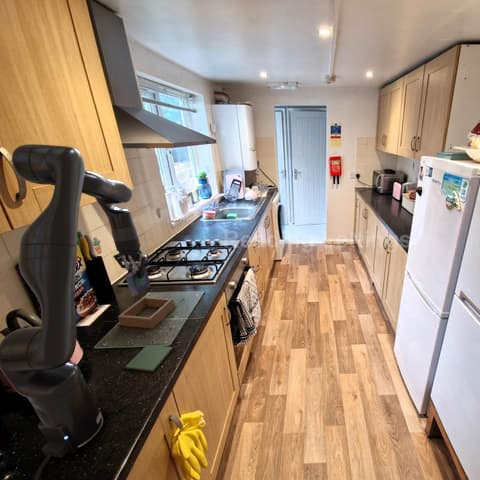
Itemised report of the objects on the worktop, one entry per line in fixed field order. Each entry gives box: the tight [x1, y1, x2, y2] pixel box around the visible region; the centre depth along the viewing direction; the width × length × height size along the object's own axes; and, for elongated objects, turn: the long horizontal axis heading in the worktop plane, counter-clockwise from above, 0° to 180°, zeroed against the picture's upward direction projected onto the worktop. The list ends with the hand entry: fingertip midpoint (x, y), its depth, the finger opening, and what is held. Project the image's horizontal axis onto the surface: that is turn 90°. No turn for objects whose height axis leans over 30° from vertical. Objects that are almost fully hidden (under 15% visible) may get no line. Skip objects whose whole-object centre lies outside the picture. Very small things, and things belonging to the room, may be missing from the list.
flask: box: [125, 266, 152, 298], centre depth 105 cm, size 9×3×11 cm, turn 172°
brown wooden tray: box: [117, 296, 176, 330], centre depth 112 cm, size 14×14×4 cm
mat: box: [125, 344, 174, 372], centre depth 91 cm, size 10×10×1 cm
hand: (137, 277), depth 105 cm, fingers closed on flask, 3 cm apart
